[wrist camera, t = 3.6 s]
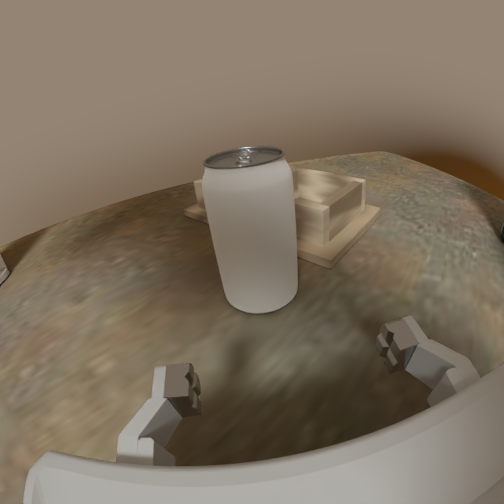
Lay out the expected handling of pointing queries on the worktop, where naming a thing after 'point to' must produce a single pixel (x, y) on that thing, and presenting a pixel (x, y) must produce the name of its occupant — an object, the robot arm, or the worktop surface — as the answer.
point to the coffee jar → (502, 231)
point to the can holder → (319, 214)
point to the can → (253, 226)
